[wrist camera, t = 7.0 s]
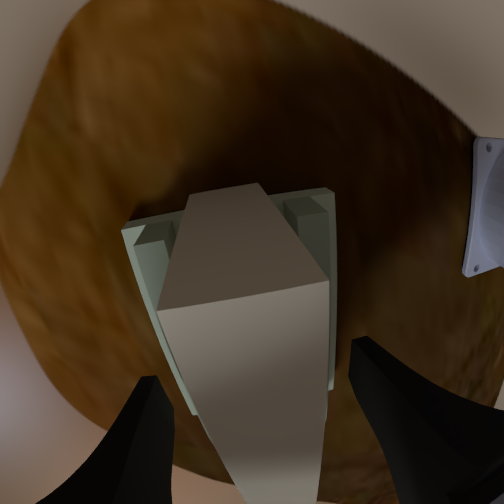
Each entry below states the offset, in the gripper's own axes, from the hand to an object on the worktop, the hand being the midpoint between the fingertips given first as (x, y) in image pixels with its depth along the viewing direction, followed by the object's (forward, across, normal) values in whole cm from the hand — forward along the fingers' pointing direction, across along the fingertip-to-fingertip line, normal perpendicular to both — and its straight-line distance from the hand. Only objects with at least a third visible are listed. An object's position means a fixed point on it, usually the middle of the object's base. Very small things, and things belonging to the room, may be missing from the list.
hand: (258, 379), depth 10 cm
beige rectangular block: (+3, 0, 0) cm, 3 cm away
